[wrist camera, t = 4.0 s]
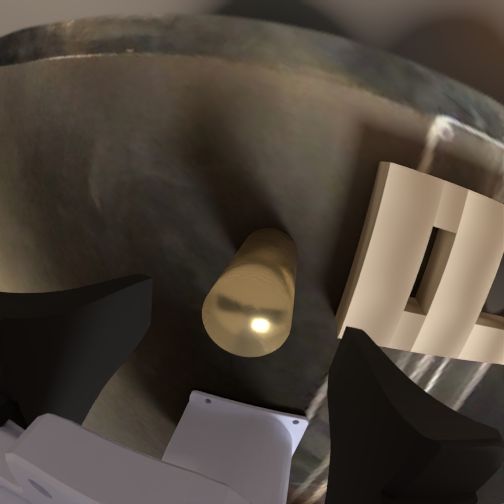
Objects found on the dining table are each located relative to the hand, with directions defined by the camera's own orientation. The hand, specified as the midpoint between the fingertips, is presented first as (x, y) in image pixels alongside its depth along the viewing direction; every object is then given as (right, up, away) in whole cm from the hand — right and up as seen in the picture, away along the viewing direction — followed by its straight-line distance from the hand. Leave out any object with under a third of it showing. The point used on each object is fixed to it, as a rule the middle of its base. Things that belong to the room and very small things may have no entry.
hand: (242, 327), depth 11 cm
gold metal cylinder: (+1, +2, +8) cm, 9 cm away
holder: (+14, +1, +6) cm, 16 cm away
